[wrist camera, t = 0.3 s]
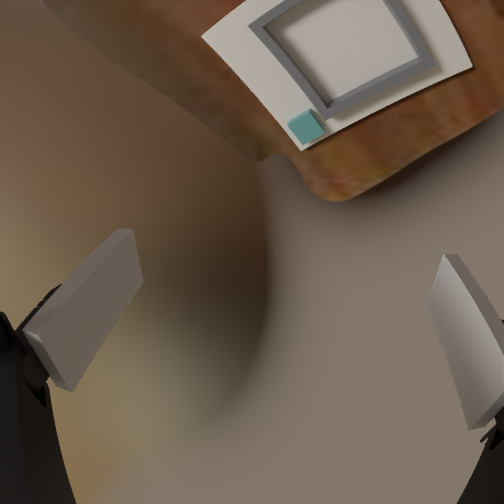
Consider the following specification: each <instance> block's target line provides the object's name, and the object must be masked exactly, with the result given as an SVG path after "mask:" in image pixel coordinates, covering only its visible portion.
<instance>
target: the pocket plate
mask: <svg viewBox="0 0 504 504" xmlns="http://www.w3.org/2000/svg"><path fill="white" fill-rule="evenodd" d="M201 37H202V38H203V39H204V40H205V41H206V42H207V43H208V44H209V45H210V46H211V47H212V48H213V49H214V50H215V51H216V52H217V53H218V54H219V55H220V57H221V58H222V59H223V60H224V61H225V62H226V63H227V64H228V65H229V66H230V67H231V68H232V69H233V71H234V72H235V73H236V74H237V75H238V76H239V77H240V78H241V79H242V80H243V82H244V83H245V84H246V85H247V86H248V87H249V88H250V89H251V91H252V92H253V93H254V94H255V95H256V96H257V98H258V99H259V100H260V101H261V102H262V103H263V105H264V106H265V107H266V108H267V109H268V110H269V112H270V113H271V114H272V115H273V116H274V118H275V119H276V120H277V121H278V123H279V124H280V125H281V126H282V128H283V129H284V130H285V131H286V132H287V134H288V135H289V136H290V138H291V139H292V140H293V141H294V143H295V144H296V145H297V146H298V148H299V149H300V150H301V151H302V150H304V149H306V148H307V147H309V146H311V145H313V144H315V143H316V142H318V141H320V140H322V139H324V138H326V137H327V136H329V135H331V134H333V133H335V132H337V131H339V130H341V129H342V128H344V127H346V126H348V125H350V124H352V123H354V122H356V121H358V120H360V119H362V118H364V117H366V116H368V115H369V114H371V113H373V112H375V111H377V110H379V109H381V108H383V107H385V106H387V105H390V104H392V103H394V102H396V101H398V100H400V99H402V98H404V97H406V96H408V95H410V94H412V93H415V92H417V91H419V90H421V89H423V88H425V87H427V86H430V85H432V84H434V83H436V82H439V81H441V80H443V79H445V78H448V77H450V76H452V75H454V74H457V73H459V72H461V71H464V70H466V69H469V68H471V67H473V66H472V64H471V61H470V59H469V57H468V55H467V52H466V50H465V48H464V46H463V44H462V42H461V40H460V38H459V36H458V34H457V32H456V30H455V28H454V26H453V24H452V22H451V20H450V18H449V17H448V15H447V13H446V11H445V9H444V8H443V6H442V4H441V3H440V1H439V0H246V1H245V2H244V3H242V4H241V5H240V6H238V7H237V8H236V9H234V10H233V11H232V12H230V13H229V14H228V15H226V16H225V17H224V18H223V19H221V20H220V21H219V22H218V23H216V24H215V25H214V26H213V27H212V28H210V29H209V30H208V31H207V32H206V33H204V34H203V35H202V36H201Z"/></svg>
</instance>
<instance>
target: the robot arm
mask: <svg viewBox="0 0 504 504" xmlns="http://www.w3.org/2000/svg"><path fill="white" fill-rule="evenodd" d="M142 283H143V278H142V273H141V268H140V264H139V259H138V254H137V249H136V243H135V238H134V232H133V229H117V230H116V231H115V232H114V233H113V234H112V235H111V236H110V237H109V238H108V239H107V240H106V241H105V242H103V243H102V244H101V246H99V247H98V248H97V249H96V251H94V252H93V253H92V254H91V255H90V256H89V257H88V258H87V259H86V260H85V261H84V262H83V263H82V264H81V265H80V266H79V267H78V268H77V269H76V270H75V271H74V272H73V273H72V275H71V276H70V277H69V278H68V279H67V280H66V281H65V282H64V283H63V284H60V285H58V286H57V287H56V288H54V289H52V290H51V291H50V292H49V293H48V294H47V295H46V296H45V297H44V298H43V301H41V302H40V303H39V304H38V305H37V307H36V308H34V309H33V310H32V312H31V313H30V314H29V315H28V316H27V317H26V319H25V320H24V321H23V322H22V323H21V324H20V325H19V327H18V328H17V329H16V330H15V331H14V329H13V328H12V326H11V324H10V322H9V320H8V318H7V316H6V315H5V314H4V313H3V312H0V504H76V501H75V498H74V495H73V492H72V489H71V486H70V483H69V479H68V476H67V473H66V469H65V465H64V461H63V458H62V454H61V450H60V446H59V441H58V436H57V432H56V427H55V422H54V416H53V410H52V405H51V398H50V391H49V387H48V384H47V383H46V381H47V379H48V378H49V376H50V377H51V379H52V380H53V381H54V383H55V385H56V386H57V387H60V388H62V389H64V390H67V391H69V392H72V393H73V391H74V389H75V388H76V386H77V384H78V383H79V381H80V379H81V378H82V376H83V374H84V372H85V371H86V369H87V368H88V366H89V364H90V363H91V361H92V360H93V358H94V356H95V355H96V353H97V351H98V350H99V348H100V347H101V345H102V343H103V342H104V340H105V339H106V337H107V336H108V334H109V333H110V331H111V330H112V328H113V326H114V325H115V323H116V322H117V320H118V319H119V317H120V316H121V314H122V313H123V311H124V310H125V308H126V307H127V305H128V304H129V302H130V301H131V299H132V298H133V297H134V295H135V294H136V292H137V291H138V289H139V288H140V286H141V285H142ZM425 306H426V309H427V311H428V314H429V316H430V319H431V321H432V323H433V326H434V328H435V330H436V333H437V336H438V338H439V341H440V344H441V346H442V349H443V351H444V354H445V357H446V360H447V363H448V365H449V368H450V371H451V374H452V377H453V380H454V383H455V386H456V389H457V392H458V396H459V399H460V402H461V406H462V409H463V413H464V416H465V420H466V423H467V427H468V430H471V429H477V428H481V427H485V426H486V425H487V424H488V423H489V422H490V421H491V420H492V419H493V418H494V417H495V420H496V423H497V424H496V425H495V426H494V427H493V428H491V429H490V430H489V432H488V433H486V434H485V435H484V436H483V437H482V439H481V440H480V442H481V443H482V442H483V441H484V440H485V439H486V438H487V437H488V440H487V442H486V443H485V447H484V450H483V452H482V454H481V456H480V459H479V461H478V463H477V466H476V468H475V470H474V472H473V474H472V476H471V478H470V480H469V482H468V484H467V486H466V488H465V489H464V491H463V493H462V495H461V497H460V499H459V501H458V502H457V504H504V320H501V319H500V318H499V316H498V314H497V312H496V311H495V309H494V308H493V306H492V304H491V303H490V301H489V300H488V298H487V296H486V295H485V293H484V292H483V290H482V289H481V287H480V286H479V284H478V283H477V281H476V280H475V278H474V277H473V275H472V274H471V273H470V271H469V270H468V268H467V267H466V265H465V264H464V263H463V262H462V260H461V259H460V257H459V256H458V255H454V254H443V257H442V260H441V263H440V266H439V269H438V272H437V275H436V278H435V280H434V283H433V286H432V288H431V291H430V294H429V296H428V299H427V302H426V304H425Z"/></svg>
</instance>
